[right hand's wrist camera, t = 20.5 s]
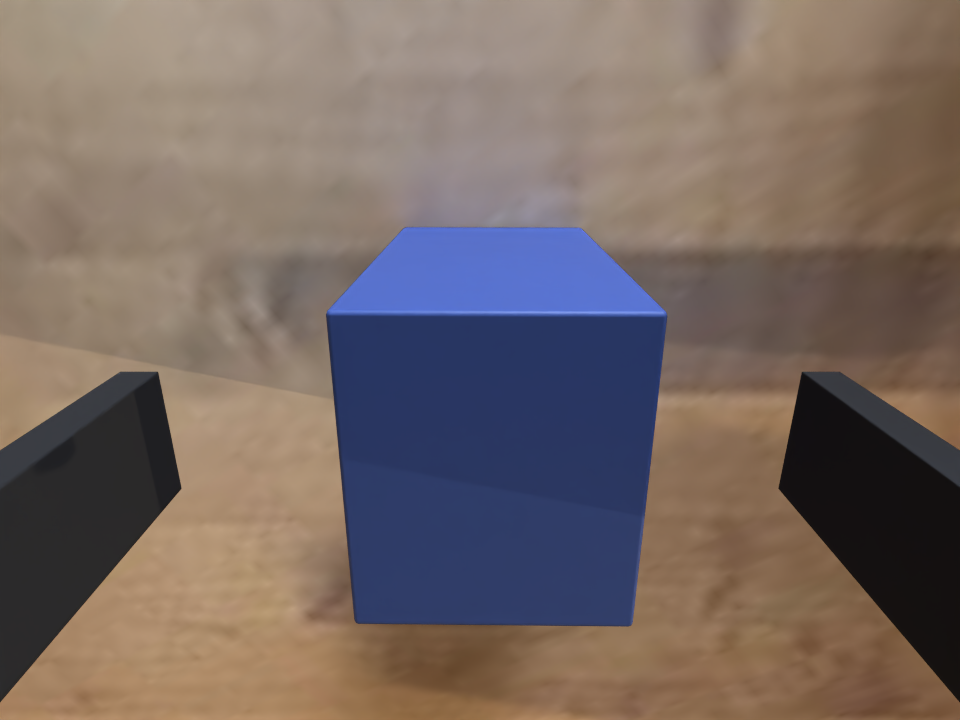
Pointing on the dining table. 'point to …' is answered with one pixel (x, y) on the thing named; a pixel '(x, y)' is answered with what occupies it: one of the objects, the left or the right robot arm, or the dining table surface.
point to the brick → (495, 428)
